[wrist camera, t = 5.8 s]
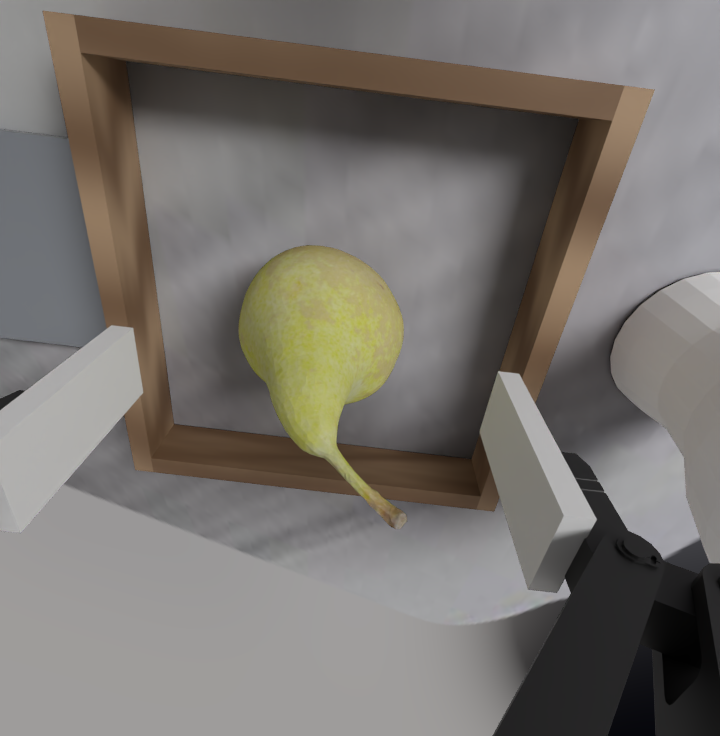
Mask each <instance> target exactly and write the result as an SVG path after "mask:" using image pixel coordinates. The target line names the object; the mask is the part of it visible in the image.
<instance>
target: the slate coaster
mask: <svg viewBox="0 0 720 736" xmlns="http://www.w3.org/2000/svg"><path fill="white" fill-rule="evenodd" d="M106 329H107V327H106V322H105V317H104V312H103V307H102V302H101V298H100V293H99V288H98V283H97V278H96V273H95V268H94V263H93V258H92V253H91V248H90V243H89V238H88V233H87V228H86V223H85V218H84V213H83V208H82V203H81V198H80V193H79V189H78V184H77V179H76V174H75V169H74V164H73V159H72V154H71V149H70V144H69V139H68V137H61V136H53V135H45V134H37V133H29V132H21V131H13V130H5V129H0V338H8V339H17V340H25V341H33V342H42V343H50V344H59V345H67V346H75V347H84V346H85V345H86V344H88V343H89V342H90V341H92V340H93V339H94V338H95V337H97V336H98V335H99V334H101V333H102V332H103V331H105V330H106Z"/></svg>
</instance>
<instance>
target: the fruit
mask: <svg viewBox="0 0 720 736" xmlns="http://www.w3.org/2000/svg"><path fill="white" fill-rule="evenodd" d="M403 331H404V329H403V319H402V315H401V312H400V309H399V306H398V304H397V302H396V300H395V298H394V296H393V295H392V293H391V291H390V289H389V288H388V286H387V285H386V283H385V282H384V280H383V279H382V278H381V277H380V276H379V275H378V274H377V273H376V272H375V271H374V270H373V269H372V268H371V267H369V266H368V265H367V264H365V263H364V262H362V261H361V260H359V259H358V258H356V257H354V256H352V255H350V254H347V253H345V252H343V251H340V250H338V249H334V248H330V247H324V246H312V245H307V246H300V247H295V248H292V249H289V250H287V251H284V252H282V253H280V254H278V255H277V256H275V257H274V258H272V259H271V260H270V261H268V262H267V263H266V264H265V265H264V266H263V267H262V268H261V269H260V270H259V272H258V273H257V274H256V276H255V277H254V279H253V280H252V282H251V284H250V286H249V288H248V290H247V292H246V294H245V298H244V301H243V304H242V309H241V313H240V318H239V339H240V344H241V348H242V350H243V353H244V355H245V357H246V359H247V361H248V363H249V364H250V366H251V368H252V369H253V370H254V371H255V373H256V374H257V375H258V376H259V377H260V378H261V379H262V380H263V381H265V382H266V384H267V387H268V389H269V391H270V397H271V400H272V403H273V406H274V409H275V411H276V413H277V415H278V418H279V420H280V421H281V423H282V425H283V427H284V429H285V431H286V432H287V433H288V435H289V436H290V437H291V439H292V440H293V441H294V442H295V443H296V444H297V445H298V446H299V447H300V448H301V449H302V450H303V451H305V452H307V453H309V454H311V455H314V456H317V457H321V458H325V459H326V460H327V461H328V462H329V463H330V464H331V465H332V466H333V467H334V468H335V469H336V470H337V471H338V472H339V473H340V474H341V475H342V476H343V477H344V479H345V480H346V481H347V482H348V483H349V484H351V485H352V487H353V488H354V489H355V491H357V492H358V493H359V494H360V495H361V496H362V497H363V498H364V499H365V500H366V501H367V502H368V504H369V505H370V506H371V507H372V508H373V509H374V510H375V511H376V512H377V513H378V514H379V515H380V516H381V517H382V518H383V519H384V520H385V521H386V522H387V523H388V524H389V525H390V526H391V527H393V528H395V529H401V528H402V526H403V525H404V524H405V523H406V522H407V516H406V514H405V513H404V512H403V511H401V510H400V509H398V508H396V507H395V506H393V505H392V504H391V503H389V502H388V501H387V500H385V499H384V498H383V497H381V495H380V494H379V493H378V491H376V490H374V489H372V488H371V487H370V486H368V485H367V484H366V483H365V482H364V481H363V480H362V479H361V478H360V477H359V476H358V474H357V473H356V472H355V471H354V470H353V469H352V467H351V466H350V465H349V464H348V462H347V461H346V460H345V458H344V457H343V455H342V454H341V452H340V451H339V450H338V447H337V444H336V439H337V429H338V422H339V418H340V415H341V412H342V409H343V406H344V405H345V404H350V403H353V402H357V401H360V400H362V399H364V398H366V397H368V396H370V395H372V394H373V393H375V392H376V391H377V390H378V389H379V388H380V387H381V386H382V385H383V384H384V383H385V381H386V380H387V379H388V377H389V375H390V373H391V372H392V370H393V368H394V365H395V362H396V360H397V358H398V356H399V353H400V350H401V347H402V342H403Z"/></svg>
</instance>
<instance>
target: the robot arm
mask: <svg viewBox="0 0 720 736" xmlns="http://www.w3.org/2000/svg"><path fill="white" fill-rule="evenodd" d="M142 394H143V387H142V381H141V375H140V369H139V362H138V356H137V350H136V343H135V337H134V331H133V328H130V327H122V326H113V325H111V326H110V327H109V328H107V329H106V330H105V331H103V332H102V333H101V334H99V335H98V336H97V337H95V338H94V339H93V340H92V341H90V342H89V343H88V344H86V345H85V346H84V347H82V348H81V349H80V350H78V351H77V352H76V353H75V354H73V355H72V356H71V357H69V358H68V359H67V360H65V361H64V362H63V363H61V364H60V365H59V366H58V367H56V368H55V369H54V370H52V371H51V372H50V373H48V374H47V375H46V376H44V377H43V378H42V379H40V380H39V381H38V382H37V383H35V384H34V385H33V386H31V387H30V388H29V389H27V390H26V391H21V390H19V391H17V392H15V393H12V394H10V395H8V396H5V397H3V398H1V399H0V531H5V532H15V533H21V532H22V531H23V530H24V529H25V528H26V527H27V526H28V524H29V523H30V522H31V521H32V520H33V519H34V518H35V516H36V515H37V514H38V513H39V512H40V511H41V510H42V508H43V507H44V506H45V505H46V504H47V502H48V501H49V500H50V499H51V498H52V497H53V496H54V495H55V493H56V492H57V491H58V490H59V489H60V488H61V487H62V485H63V484H64V483H65V482H66V481H67V480H68V479H69V477H70V476H71V475H72V474H73V473H74V472H75V470H76V469H77V468H78V467H79V466H80V465H81V464H82V462H83V461H84V460H85V459H86V458H87V457H88V456H89V454H90V453H91V452H92V451H93V450H94V449H95V448H96V446H97V445H98V444H99V443H100V442H101V441H102V440H103V438H104V437H105V436H106V435H107V434H108V433H109V431H110V430H111V429H112V428H113V427H114V426H115V425H116V423H117V422H118V421H119V420H120V419H121V418H122V417H123V415H124V414H125V413H126V412H127V411H128V410H129V409H130V407H131V406H132V405H133V404H134V403H135V402H136V400H137V399H138V398H139V397H140V396H141V395H142ZM480 435H481V438H482V442H483V445H484V448H485V451H486V455H487V458H488V461H489V464H490V468H491V471H492V474H493V477H494V481H495V484H496V487H497V490H498V494H499V497H500V500H501V503H502V507H503V510H504V513H505V516H506V520H507V523H508V526H509V529H510V533H511V536H512V539H513V542H514V546H515V549H516V552H517V555H518V559H519V562H520V565H521V568H522V571H523V575H524V578H525V581H526V584H527V588H528V590H536V591H545V592H554V593H557V592H558V590H559V588H560V587H561V585H562V583H563V581H564V579H566V581H567V584H568V587H569V589H570V592H571V594H570V596H569V598H568V600H567V601H566V603H565V605H564V607H563V608H562V610H561V612H560V614H559V616H558V617H557V620H556V621H555V623H554V625H553V627H552V629H551V630H550V632H549V634H548V636H547V638H546V640H545V642H544V644H543V645H542V647H541V649H540V651H539V652H538V654H537V656H536V658H535V660H534V661H533V663H532V665H531V667H530V669H529V671H528V672H527V674H526V676H525V678H524V680H523V681H522V683H521V685H520V687H519V689H518V690H517V692H516V694H515V696H514V698H513V700H512V701H511V703H510V705H509V707H508V709H507V710H506V713H505V714H504V716H503V718H502V720H501V721H500V723H499V725H498V727H497V729H496V730H495V732H494V734H493V736H607V735H608V732H609V730H610V727H611V724H612V721H613V718H614V715H615V712H616V709H617V706H618V704H619V701H620V698H621V695H622V692H623V689H624V686H625V683H626V681H627V678H628V675H629V672H630V669H631V666H632V663H633V660H634V657H635V655H636V652H637V649H638V646H639V644H641V645H644V646H646V647H649V648H651V649H652V654H653V655H652V656H653V679H654V703H655V704H654V705H655V729H656V736H720V563H710V564H708V565H707V566H705V567H704V568H703V569H702V570H701V571H700V573H699V574H697V573H695V572H692V571H689V570H686V569H684V568H681V567H678V566H675V565H672V564H670V563H667V562H665V561H663V559H662V557H661V555H660V553H659V552H658V551H657V550H656V549H655V548H654V547H653V546H652V544H650V543H649V542H648V541H646V540H645V539H643V538H642V537H640V536H638V535H636V534H634V533H632V532H629V531H628V530H627V528H626V527H625V525H624V523H623V522H622V520H621V518H620V516H619V515H618V513H617V511H616V510H615V508H614V506H613V505H612V503H611V501H610V500H609V498H608V496H607V495H606V493H604V490H603V488H602V486H601V485H600V483H599V482H597V480H598V479H597V478H596V476H595V474H594V473H593V471H592V469H591V468H590V466H589V465H588V464H587V463H586V462H584V461H583V460H582V459H581V458H580V457H579V456H578V455H577V454H574V453H565V452H561V451H560V449H559V448H558V446H557V444H556V442H555V440H554V438H553V436H552V434H551V433H550V431H549V429H548V427H547V425H546V423H545V421H544V419H543V418H542V416H541V414H540V412H539V410H538V408H537V406H536V404H535V403H534V401H533V399H532V397H531V395H530V393H529V391H528V389H527V388H526V386H525V384H524V382H523V380H522V378H521V376H520V374H518V373H509V372H501V371H498V373H497V376H496V380H495V383H494V386H493V389H492V393H491V396H490V399H489V402H488V406H487V409H486V412H485V415H484V419H483V422H482V425H481V428H480Z"/></svg>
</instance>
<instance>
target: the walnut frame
mask: <svg viewBox="0 0 720 736" xmlns="http://www.w3.org/2000/svg"><path fill="white" fill-rule="evenodd" d="M43 15H44V20H45V25H46V30H47V35H48V40H49V45H50V50H51V55H52V60H53V65H54V70H55V75H56V79H57V84H58V89H59V94H60V99H61V104H62V109H63V114H64V119H65V124H66V129H67V134H68V139H69V144H70V149H71V154H72V159H73V164H74V169H75V174H76V179H77V184H78V189H79V193H80V198H81V203H82V208H83V213H84V218H85V223H86V228H87V233H88V238H89V243H90V248H91V253H92V258H93V263H94V268H95V273H96V278H97V283H98V288H99V293H100V298H101V302H102V307H103V312H104V317H105V322H106V327H107V328H109V327H110V326H111V325H113V326H122V327H130V328H133V331H134V337H135V343H136V350H137V356H138V362H139V369H140V375H141V381H142V387H143V394H142V395H141V396H140V397H139V398H138V399H137V400H136V402H135V403H134V404H133V405H132V406H131V407H130V409H129V410H128V411H127V412H126V413H125V414H124V416H125V421H126V426H127V431H128V436H129V441H130V446H131V451H132V456H133V461H134V466H135V470H140V471H149V472H158V473H166V474H175V475H184V476H192V477H201V478H209V479H218V480H227V481H235V482H244V483H252V484H261V485H270V486H278V487H287V488H296V489H304V490H313V491H321V492H330V493H339V494H347V495H356V496H361V495H360V494H359V493H358V492H357V491H355V489H354V488H353V487H352V485H351V484H349V483H348V482H347V481H346V480H345V479H344V477H343V476H342V475H341V474H340V473H339V472H338V471H337V470H336V469H335V468H334V467H333V466H332V465H331V464H330V463H329V462H328V461H327V460H326V459H325V458H321V457H317V456H314V455H311V454H309V453H307V452H305V451H303V450H302V449H301V448H300V447H299V446H298V445H297V444H296V443H295V442H294V441H293V440H292V439H291V438H287V437H278V436H270V435H261V434H253V433H244V432H236V431H227V430H219V429H210V428H202V427H193V426H185V425H176V424H174V421H173V413H172V406H171V398H170V391H169V383H168V375H167V368H166V360H165V353H164V345H163V338H162V330H161V322H160V315H159V307H158V300H157V292H156V285H155V277H154V270H153V262H152V254H151V247H150V239H149V232H148V224H147V217H146V209H145V201H144V194H143V186H142V179H141V171H140V164H139V156H138V149H137V141H136V133H135V126H134V118H133V111H132V103H131V96H130V88H129V81H128V73H127V65H126V61H129V62H137V63H145V64H152V65H160V66H168V67H176V68H184V69H191V70H199V71H207V72H215V73H223V74H230V75H238V76H246V77H254V78H262V79H270V80H277V81H285V82H293V83H301V84H309V85H316V86H324V87H332V88H340V89H348V90H356V91H363V92H371V93H379V94H387V95H395V96H402V97H410V98H418V99H426V100H434V101H442V102H449V103H457V104H465V105H473V106H481V107H488V108H496V109H504V110H512V111H520V112H527V113H535V114H543V115H551V116H559V117H567V118H574V119H579V121H578V124H577V127H576V130H575V133H574V136H573V140H572V143H571V146H570V149H569V152H568V155H567V159H566V162H565V165H564V168H563V171H562V174H561V178H560V181H559V184H558V187H557V190H556V193H555V197H554V200H553V203H552V206H551V209H550V212H549V216H548V219H547V222H546V225H545V228H544V231H543V235H542V238H541V241H540V244H539V247H538V250H537V254H536V257H535V260H534V263H533V266H532V269H531V273H530V276H529V279H528V282H527V285H526V288H525V292H524V295H523V298H522V301H521V304H520V307H519V311H518V314H517V317H516V320H515V323H514V326H513V329H512V333H511V336H510V339H509V342H508V345H507V348H506V352H505V355H504V358H503V361H502V364H501V367H500V371H501V372H509V373H518V374H520V376H521V378H522V380H523V382H524V384H525V386H526V388H527V389H528V391H529V393H530V395H531V397H532V399H533V401H534V403H536V400H537V398H538V395H539V392H540V390H541V387H542V385H543V382H544V379H545V377H546V374H547V371H548V369H549V366H550V364H551V361H552V358H553V356H554V353H555V350H556V348H557V345H558V343H559V340H560V337H561V335H562V332H563V329H564V327H565V324H566V322H567V319H568V316H569V314H570V311H571V308H572V306H573V303H574V301H575V298H576V295H577V293H578V290H579V287H580V285H581V282H582V280H583V277H584V274H585V272H586V269H587V266H588V264H589V261H590V259H591V256H592V253H593V251H594V248H595V245H596V243H597V240H598V238H599V235H600V232H601V230H602V227H603V224H604V222H605V219H606V217H607V214H608V211H609V209H610V206H611V203H612V201H613V198H614V196H615V193H616V190H617V188H618V185H619V182H620V180H621V177H622V175H623V172H624V169H625V167H626V164H627V161H628V159H629V156H630V154H631V151H632V148H633V146H634V143H635V140H636V138H637V135H638V133H639V130H640V127H641V125H642V122H643V119H644V117H645V114H646V112H647V109H648V106H649V104H650V101H651V98H652V96H653V93H654V91H655V90H653V89H645V88H637V87H630V86H622V85H614V84H606V83H599V82H591V81H583V80H575V79H568V78H560V77H552V76H544V75H537V74H529V73H521V72H513V71H506V70H498V69H490V68H482V67H475V66H467V65H459V64H451V63H444V62H436V61H428V60H420V59H413V58H405V57H397V56H390V55H382V54H374V53H366V52H359V51H351V50H343V49H335V48H328V47H320V46H312V45H304V44H297V43H289V42H281V41H273V40H266V39H258V38H250V37H242V36H235V35H227V34H219V33H211V32H204V31H196V30H188V29H180V28H173V27H165V26H157V25H149V24H142V23H134V22H126V21H118V20H111V19H103V18H95V17H87V16H80V15H72V14H64V13H56V12H49V11H43ZM336 444H337V447H338V450H339V451H340V452H341V454H342V455H343V457H344V458H345V460H346V461H347V462H348V464H349V465H350V466H351V467H352V469H353V470H354V471H355V472H356V473H357V474H358V476H359V477H360V478H361V479H362V480H363V481H364V482H365V483H366V484H367V485H368V486H370V487H371V488H372V489H374V490H376V491H378V493H379V494H380V495H381V497H383V498H384V499H390V500H399V501H408V502H416V503H425V504H434V505H442V506H451V507H459V508H468V509H477V510H485V511H495V508H496V505H497V503H498V500H499V494H498V490H497V487H496V484H495V481H494V477H493V474H492V471H491V468H490V464H489V461H488V458H487V455H486V451H485V448H484V445H483V442H482V438H481V435H480V434H479V437H478V440H477V443H476V447H475V450H474V453H473V456H472V459H466V458H457V457H448V456H440V455H431V454H423V453H414V452H406V451H397V450H389V449H380V448H372V447H363V446H355V445H346V444H338V443H336Z"/></svg>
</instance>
